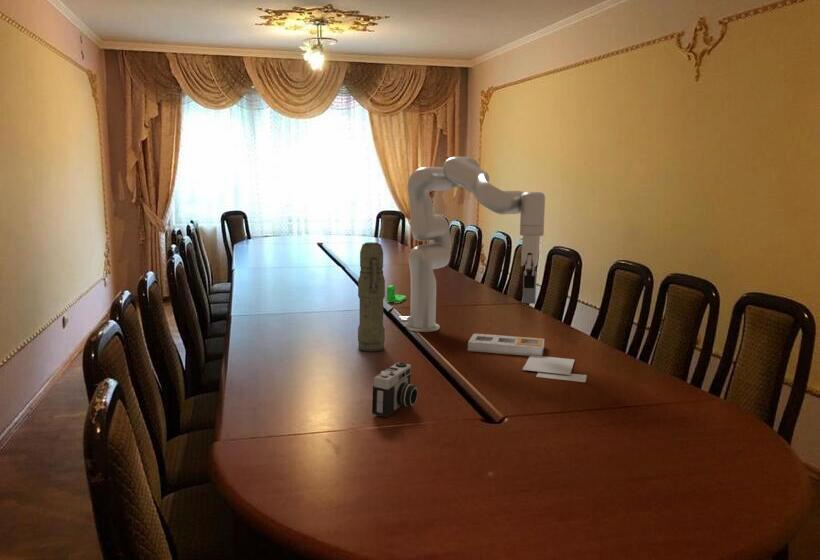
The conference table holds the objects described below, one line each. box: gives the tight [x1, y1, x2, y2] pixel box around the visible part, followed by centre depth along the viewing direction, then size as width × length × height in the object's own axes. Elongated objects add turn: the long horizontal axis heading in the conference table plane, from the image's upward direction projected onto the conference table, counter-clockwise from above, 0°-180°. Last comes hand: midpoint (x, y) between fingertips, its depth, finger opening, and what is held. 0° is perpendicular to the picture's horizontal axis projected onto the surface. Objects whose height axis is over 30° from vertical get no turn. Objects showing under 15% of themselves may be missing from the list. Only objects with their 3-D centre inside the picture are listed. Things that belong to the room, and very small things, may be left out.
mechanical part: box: [386, 284, 407, 302], centre depth 291 cm, size 12×6×8 cm, turn 164°
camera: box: [371, 362, 419, 418], centre depth 159 cm, size 14×9×10 cm, turn 148°
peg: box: [521, 270, 538, 305], centre depth 209 cm, size 4×4×10 cm
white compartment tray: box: [467, 333, 545, 357], centre depth 214 cm, size 24×12×3 cm, turn 75°
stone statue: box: [357, 242, 386, 352], centre depth 211 cm, size 9×12×35 cm
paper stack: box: [522, 355, 588, 383], centre depth 191 cm, size 23×25×1 cm
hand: (529, 286), depth 209 cm, fingers closed on peg, 4 cm apart
